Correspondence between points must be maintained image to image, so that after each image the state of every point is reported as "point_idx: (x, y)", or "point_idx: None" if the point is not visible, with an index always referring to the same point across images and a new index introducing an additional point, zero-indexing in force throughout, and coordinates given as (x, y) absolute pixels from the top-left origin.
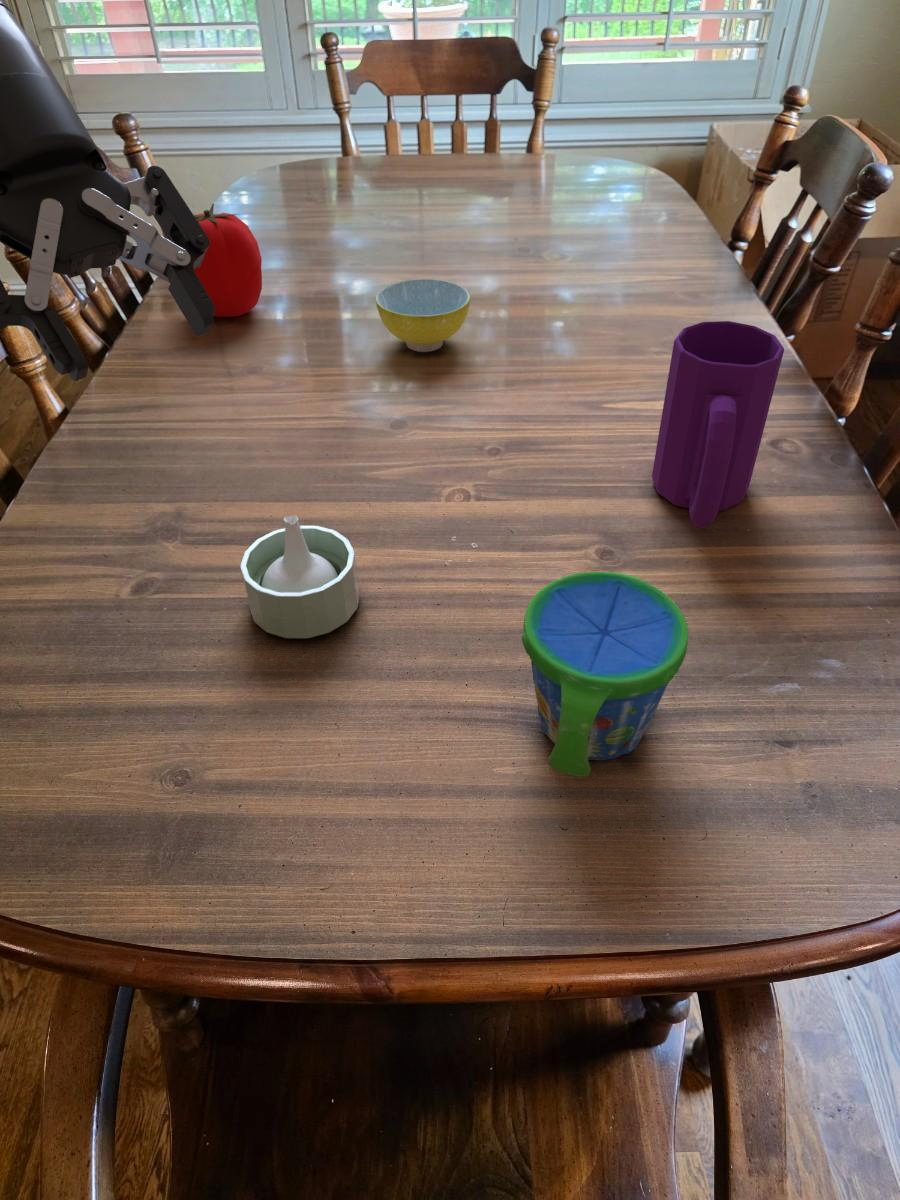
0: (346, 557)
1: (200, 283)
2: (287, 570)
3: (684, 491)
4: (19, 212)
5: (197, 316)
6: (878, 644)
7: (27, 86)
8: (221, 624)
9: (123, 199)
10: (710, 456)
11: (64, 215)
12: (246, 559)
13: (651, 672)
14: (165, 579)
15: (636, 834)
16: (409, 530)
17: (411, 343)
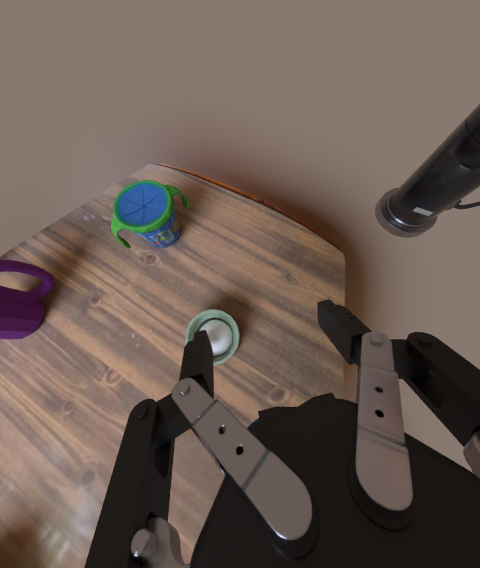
0: (190, 334)
1: (182, 368)
2: (219, 333)
3: (35, 305)
4: (455, 509)
5: (206, 341)
6: (67, 217)
7: None
8: (252, 345)
9: (214, 527)
10: (17, 265)
11: (347, 487)
12: (233, 349)
13: (147, 181)
14: (267, 394)
15: (181, 200)
16: (149, 363)
17: None
